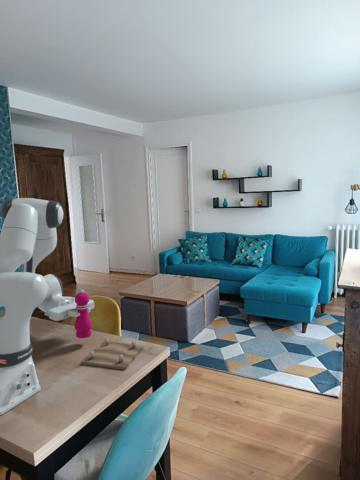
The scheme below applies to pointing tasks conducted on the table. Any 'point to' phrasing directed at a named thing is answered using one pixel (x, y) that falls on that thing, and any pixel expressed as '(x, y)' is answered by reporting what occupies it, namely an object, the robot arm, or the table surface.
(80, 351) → the table surface
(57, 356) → the table surface
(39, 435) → the table surface
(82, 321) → the pepper mill
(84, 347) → the table surface
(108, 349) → the pin base
